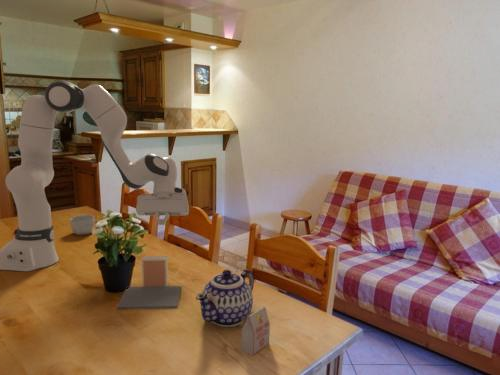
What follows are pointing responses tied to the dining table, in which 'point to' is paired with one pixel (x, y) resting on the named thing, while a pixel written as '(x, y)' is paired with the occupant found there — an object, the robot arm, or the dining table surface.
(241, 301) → the teapot
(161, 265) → the ceramic tile
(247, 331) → the grey gable-top carton
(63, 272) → the dining table surface
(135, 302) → the slate mat
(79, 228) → the teacup
